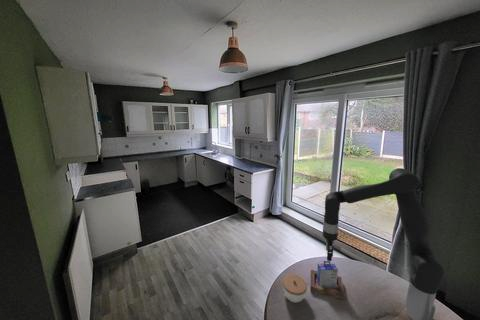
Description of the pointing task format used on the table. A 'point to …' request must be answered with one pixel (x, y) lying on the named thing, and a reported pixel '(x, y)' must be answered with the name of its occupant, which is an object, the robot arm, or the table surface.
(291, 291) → the lidded bowl
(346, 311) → the table surface
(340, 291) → the picture frame
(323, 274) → the ink cartridge box
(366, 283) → the table surface
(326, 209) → the robot arm
